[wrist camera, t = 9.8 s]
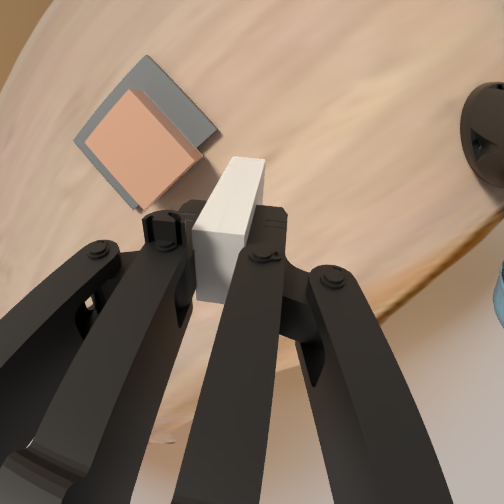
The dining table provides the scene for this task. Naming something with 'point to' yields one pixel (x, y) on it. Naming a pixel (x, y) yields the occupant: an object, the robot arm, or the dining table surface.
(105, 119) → the terracotta block
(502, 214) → the dining table surface
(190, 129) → the slate mat
